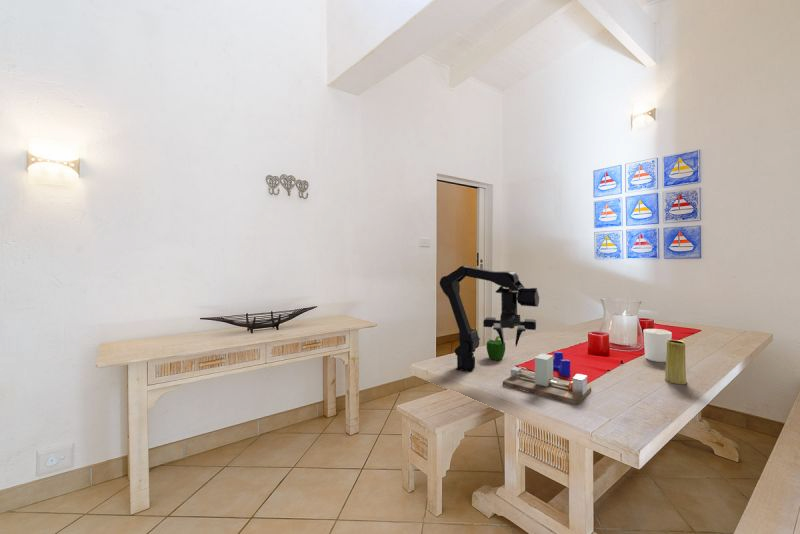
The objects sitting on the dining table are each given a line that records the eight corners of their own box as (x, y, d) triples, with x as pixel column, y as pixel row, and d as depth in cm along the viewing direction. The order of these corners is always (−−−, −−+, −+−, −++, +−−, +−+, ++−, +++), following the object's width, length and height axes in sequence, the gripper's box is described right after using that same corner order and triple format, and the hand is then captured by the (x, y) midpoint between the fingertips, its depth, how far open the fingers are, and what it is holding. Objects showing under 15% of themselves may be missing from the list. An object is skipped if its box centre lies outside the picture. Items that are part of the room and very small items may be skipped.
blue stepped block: (550, 365, 144) (550, 351, 144) (561, 366, 143) (561, 351, 143) (557, 376, 132) (557, 360, 132) (570, 376, 131) (570, 361, 131)
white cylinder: (677, 362, 143) (678, 333, 142) (653, 363, 143) (653, 334, 143) (660, 355, 153) (660, 328, 152) (637, 356, 153) (637, 329, 152)
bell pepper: (489, 361, 151) (489, 339, 150) (484, 356, 159) (484, 334, 158) (508, 361, 151) (508, 338, 150) (502, 355, 159) (502, 334, 159)
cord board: (502, 385, 124) (502, 380, 124) (519, 374, 135) (519, 370, 135) (578, 404, 107) (578, 399, 107) (591, 390, 117) (591, 386, 117)
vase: (682, 379, 125) (682, 340, 125) (689, 385, 120) (690, 344, 119) (661, 377, 127) (662, 339, 127) (668, 383, 122) (669, 343, 121)
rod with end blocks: (509, 380, 127) (509, 364, 127) (515, 376, 131) (515, 361, 131) (582, 397, 111) (582, 380, 110) (587, 393, 114) (587, 375, 114)
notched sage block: (535, 383, 120) (534, 357, 120) (541, 378, 125) (541, 353, 124) (546, 386, 118) (546, 359, 117) (553, 381, 122) (553, 355, 122)
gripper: (480, 307, 127) (481, 349, 128) (534, 309, 120) (535, 354, 121) (485, 302, 138) (486, 341, 138) (536, 304, 130) (536, 345, 131)
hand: (509, 345), depth 132 cm, fingers open, 4 cm apart
